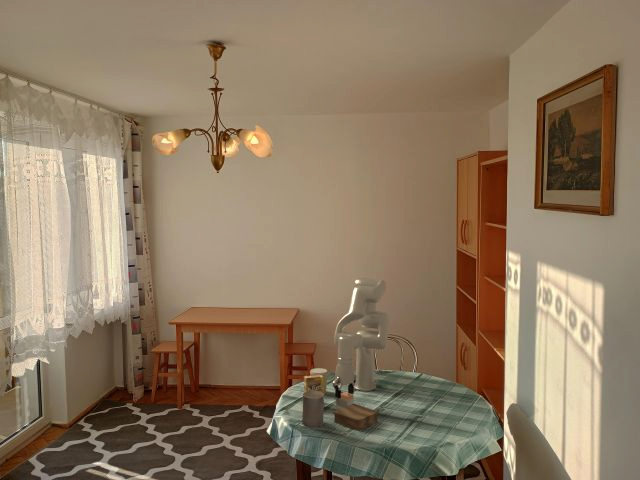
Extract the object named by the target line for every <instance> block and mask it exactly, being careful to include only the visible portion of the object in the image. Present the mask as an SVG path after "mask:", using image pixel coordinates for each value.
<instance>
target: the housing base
mask: <svg viewBox="0 0 640 480" xmlns="http://www.w3.org/2000/svg"><path fill="white" fill-rule="evenodd" d="M354 400H355V399H354V397H353V399H351V400H348V401H347V400H344V399H341V398H336V397H335V408H337V409H341V408H344V407H346V406H349V405H351V404H354Z"/></svg>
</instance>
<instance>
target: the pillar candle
mask: <svg viewBox="0 0 640 480" xmlns="http://www.w3.org/2000/svg"><path fill="white" fill-rule="evenodd" d="M324 401H325V394H323V393H321V392H318V391H308V392H305V393H304V392H303V393H302V415H301V417H302V419H301V420H302V421H301V423H302V425H303V426H304V427H307V428H319V427H321V426H323V425H324V414H325V413H324V409H325V406H324V405H325V402H324Z"/></svg>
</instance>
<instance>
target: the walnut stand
mask: <svg viewBox="0 0 640 480" xmlns="http://www.w3.org/2000/svg"><path fill="white" fill-rule="evenodd" d="M332 414H333V415H334V420H333V421H334V422H333V423H336V424H338V425H341V426H344V427H347V428H350V429H352V430H355V431H357V432H359V431H361V430H362V429H365V428H367V427H369V426H371V425H375V424H376V423H378V415H380V411H378V410H375V409H372V408H368V407H365V406H362V405H360V404H356V403H353V404H351V405H349V406H346V407H344V408H341V409H340V408H338V409H336V410H334V411H332Z"/></svg>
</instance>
